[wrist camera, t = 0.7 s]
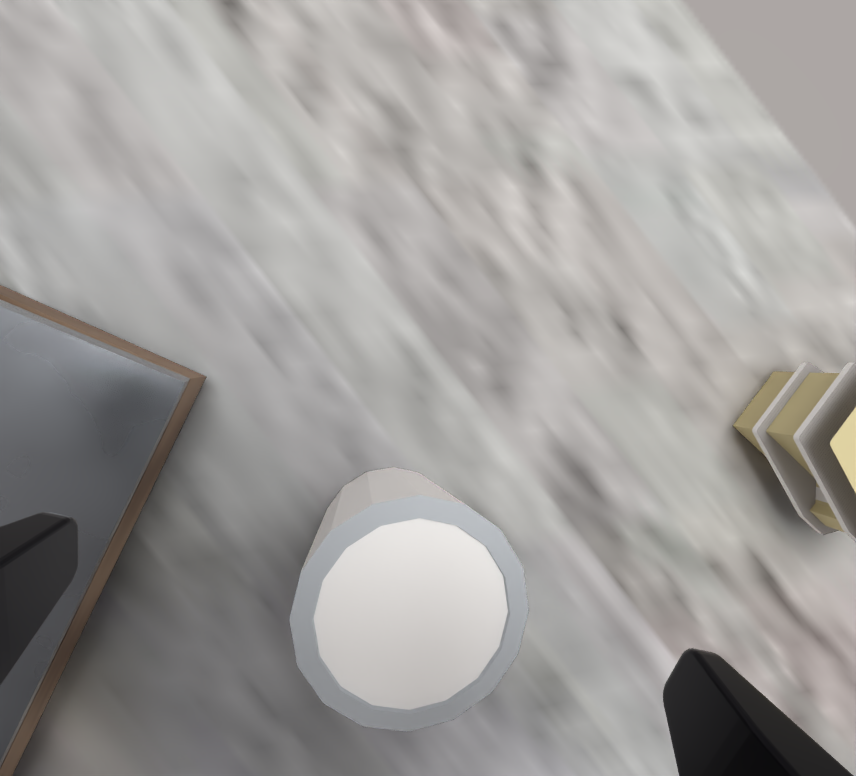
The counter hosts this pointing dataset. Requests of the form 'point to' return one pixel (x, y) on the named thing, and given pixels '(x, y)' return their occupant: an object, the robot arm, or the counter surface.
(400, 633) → the white cup
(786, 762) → the robot arm
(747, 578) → the counter surface
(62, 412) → the levelling plate
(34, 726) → the brown wooden board
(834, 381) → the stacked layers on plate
